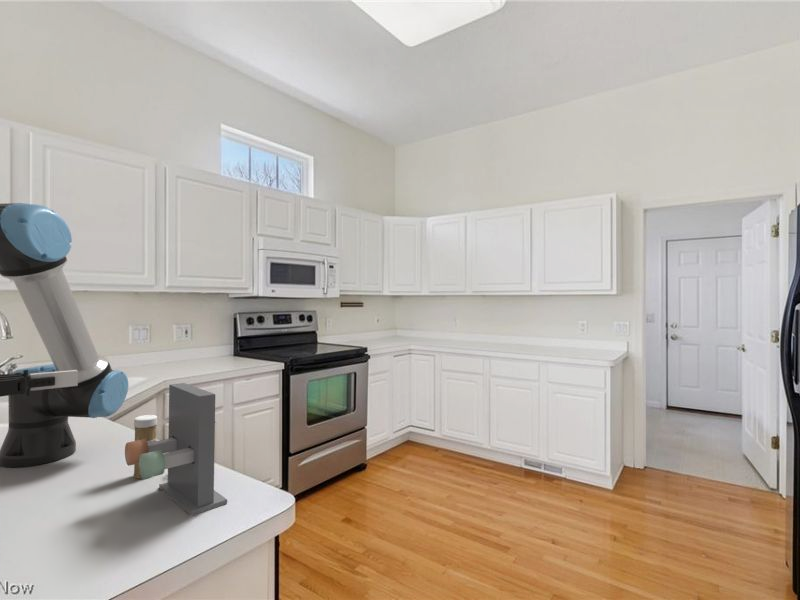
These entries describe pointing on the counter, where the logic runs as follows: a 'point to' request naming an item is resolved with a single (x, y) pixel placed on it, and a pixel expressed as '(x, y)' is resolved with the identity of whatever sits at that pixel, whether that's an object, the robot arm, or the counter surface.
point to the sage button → (163, 461)
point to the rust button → (147, 448)
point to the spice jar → (144, 433)
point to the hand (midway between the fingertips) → (76, 377)
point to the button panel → (194, 430)
